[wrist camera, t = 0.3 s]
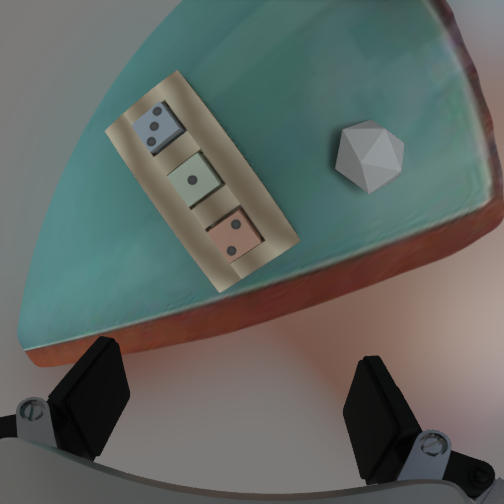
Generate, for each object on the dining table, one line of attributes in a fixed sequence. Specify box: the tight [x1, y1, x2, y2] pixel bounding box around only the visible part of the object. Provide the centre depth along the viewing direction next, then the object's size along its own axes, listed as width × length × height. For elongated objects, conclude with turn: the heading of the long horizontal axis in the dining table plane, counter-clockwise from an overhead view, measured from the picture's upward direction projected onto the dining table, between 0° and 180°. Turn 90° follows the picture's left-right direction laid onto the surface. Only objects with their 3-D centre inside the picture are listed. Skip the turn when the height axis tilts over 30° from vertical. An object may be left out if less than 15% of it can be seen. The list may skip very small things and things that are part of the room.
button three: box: [131, 101, 186, 154], centre depth 30 cm, size 4×4×3 cm
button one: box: [167, 153, 223, 207], centre depth 32 cm, size 4×4×3 cm
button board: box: [105, 70, 300, 293], centre depth 34 cm, size 12×26×4 cm, turn 35°
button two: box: [207, 207, 261, 263], centre depth 34 cm, size 4×4×3 cm
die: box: [335, 120, 404, 194], centre depth 31 cm, size 8×9×10 cm
